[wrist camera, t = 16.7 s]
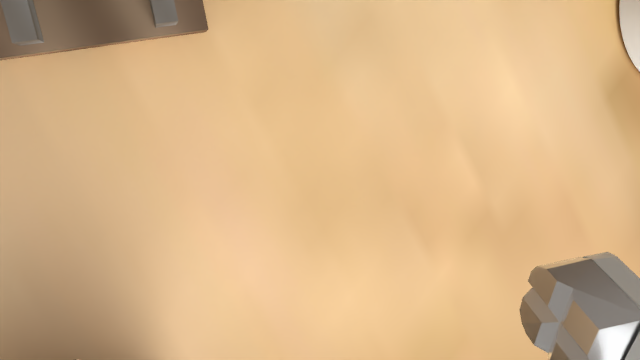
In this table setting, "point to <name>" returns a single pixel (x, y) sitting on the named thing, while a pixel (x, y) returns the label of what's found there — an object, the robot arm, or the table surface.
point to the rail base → (92, 23)
